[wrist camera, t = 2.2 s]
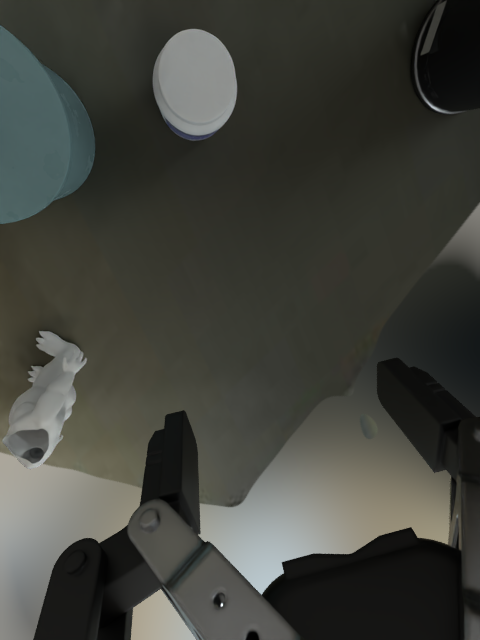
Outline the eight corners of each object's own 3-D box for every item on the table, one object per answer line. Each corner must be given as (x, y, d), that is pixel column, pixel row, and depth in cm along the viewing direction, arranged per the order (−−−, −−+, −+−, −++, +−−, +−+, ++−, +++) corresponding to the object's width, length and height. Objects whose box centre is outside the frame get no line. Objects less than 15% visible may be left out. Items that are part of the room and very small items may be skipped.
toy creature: (44, 306, 34) (-18, 374, 24) (104, 324, 36) (71, 394, 26) (22, 395, 38) (-39, 486, 28) (77, 407, 40) (40, 497, 30)
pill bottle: (238, 114, 30) (262, 95, 21) (187, 154, 30) (189, 153, 21) (199, 45, 27) (207, -10, 18) (144, 91, 28) (126, 59, 19)
